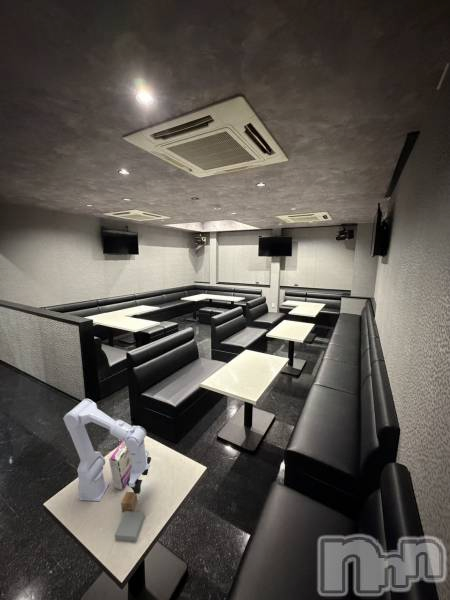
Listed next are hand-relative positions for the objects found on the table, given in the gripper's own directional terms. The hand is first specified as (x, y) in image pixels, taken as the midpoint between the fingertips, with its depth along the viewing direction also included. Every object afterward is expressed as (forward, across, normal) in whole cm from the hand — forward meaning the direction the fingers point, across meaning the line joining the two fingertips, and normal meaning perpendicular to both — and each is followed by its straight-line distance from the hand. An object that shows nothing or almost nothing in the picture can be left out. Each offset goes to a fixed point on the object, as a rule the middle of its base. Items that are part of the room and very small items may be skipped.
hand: (141, 483), depth 99 cm
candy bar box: (+10, +10, +13) cm, 19 cm away
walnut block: (+10, -2, +5) cm, 11 cm away
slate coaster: (+10, -10, +1) cm, 14 cm away
